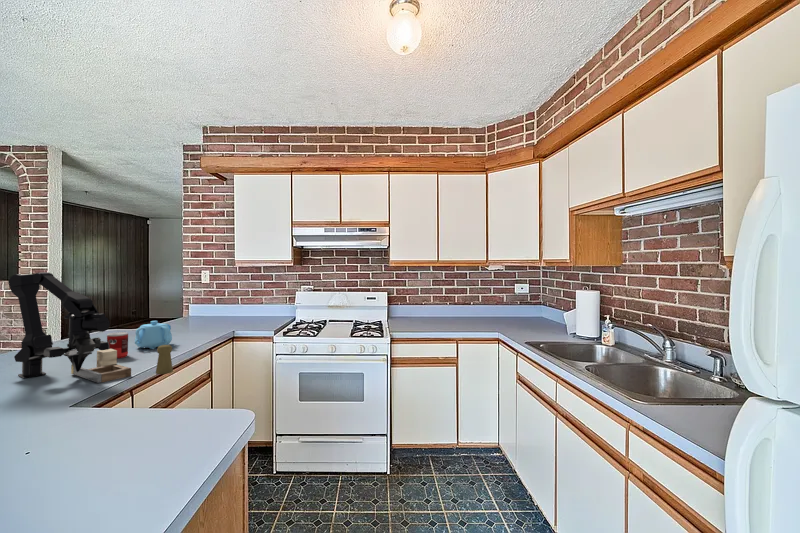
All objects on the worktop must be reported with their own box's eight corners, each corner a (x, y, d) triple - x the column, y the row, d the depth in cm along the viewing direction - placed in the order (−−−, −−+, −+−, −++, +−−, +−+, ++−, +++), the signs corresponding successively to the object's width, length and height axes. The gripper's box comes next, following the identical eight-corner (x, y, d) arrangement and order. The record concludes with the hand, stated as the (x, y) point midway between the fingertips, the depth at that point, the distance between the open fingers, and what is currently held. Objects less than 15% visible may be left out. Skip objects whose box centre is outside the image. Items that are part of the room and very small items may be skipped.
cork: (169, 369, 163) (169, 343, 163) (175, 372, 159) (175, 345, 159) (153, 372, 159) (153, 345, 159) (158, 375, 155) (159, 347, 155)
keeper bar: (70, 373, 153) (70, 364, 152) (75, 372, 154) (76, 363, 154) (96, 382, 142) (96, 373, 142) (102, 381, 143) (102, 372, 143)
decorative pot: (167, 349, 199) (168, 322, 199) (130, 351, 194) (131, 323, 194) (174, 343, 214) (175, 318, 214) (140, 344, 209) (141, 319, 209)
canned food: (104, 356, 181) (105, 333, 181) (125, 354, 187) (125, 331, 187) (108, 359, 176) (109, 335, 176) (129, 357, 182) (130, 333, 182)
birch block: (96, 370, 159) (96, 350, 159) (110, 367, 164) (110, 348, 164) (102, 372, 157) (102, 352, 157) (116, 369, 161) (116, 350, 161)
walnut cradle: (86, 377, 150) (86, 369, 150) (115, 371, 159) (115, 363, 159) (101, 382, 144) (101, 374, 144) (131, 375, 153) (131, 368, 153)
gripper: (56, 336, 136) (55, 380, 136) (117, 329, 153) (115, 369, 152) (43, 332, 142) (42, 375, 142) (103, 326, 158) (101, 365, 158)
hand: (77, 371), depth 148 cm, fingers closed
